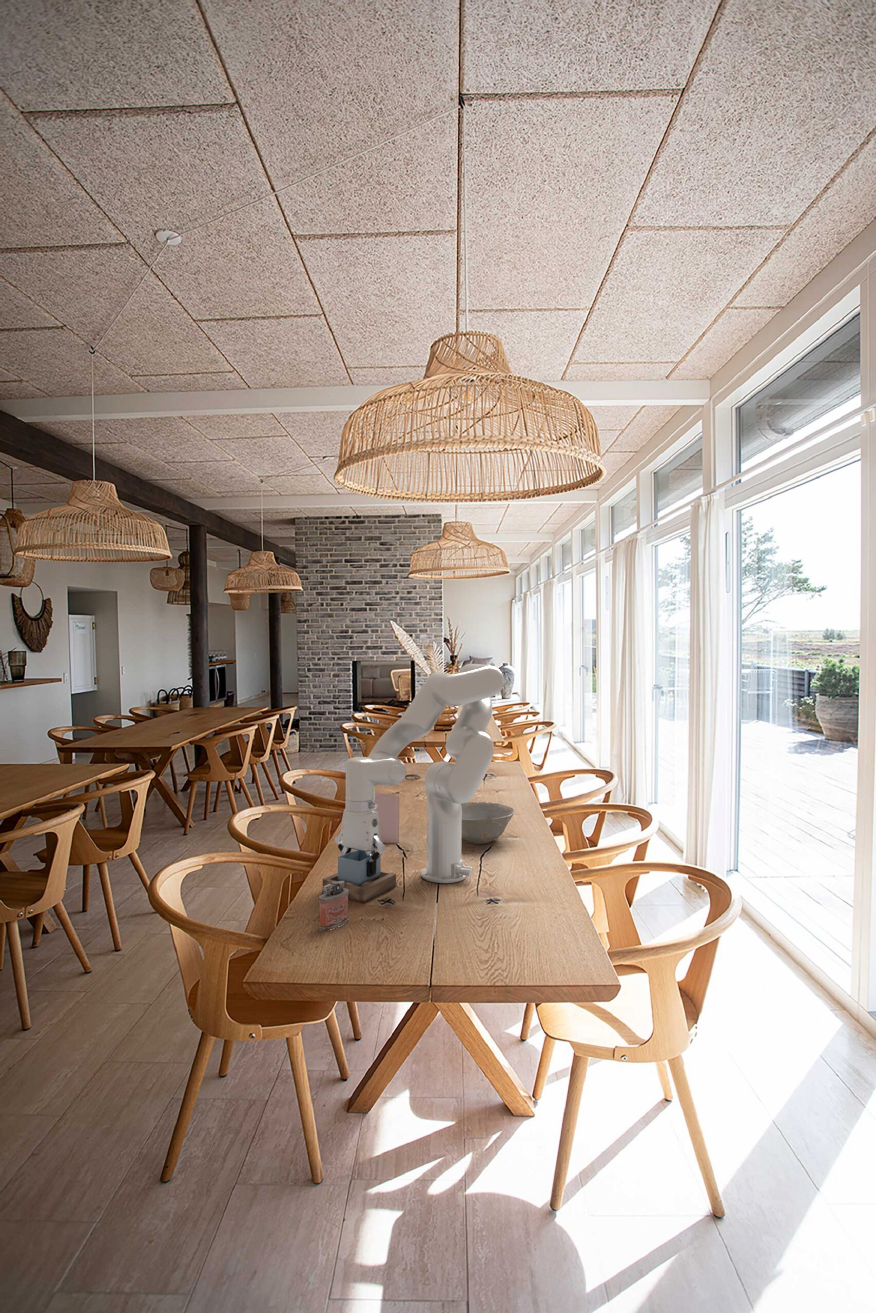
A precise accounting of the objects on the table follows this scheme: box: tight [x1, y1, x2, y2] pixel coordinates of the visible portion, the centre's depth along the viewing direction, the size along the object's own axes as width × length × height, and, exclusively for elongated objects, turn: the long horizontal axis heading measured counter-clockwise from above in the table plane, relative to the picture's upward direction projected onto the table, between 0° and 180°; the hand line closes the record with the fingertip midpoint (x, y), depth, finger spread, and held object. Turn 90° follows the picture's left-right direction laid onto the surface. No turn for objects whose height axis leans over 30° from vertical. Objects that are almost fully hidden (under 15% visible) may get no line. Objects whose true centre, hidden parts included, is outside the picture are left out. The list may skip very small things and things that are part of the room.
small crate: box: [337, 849, 382, 885], centre depth 187 cm, size 7×9×6 cm
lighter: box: [318, 881, 349, 932], centre depth 164 cm, size 8×3×10 cm, turn 141°
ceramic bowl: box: [461, 801, 515, 845], centre depth 232 cm, size 22×23×10 cm
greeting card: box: [375, 791, 400, 844], centre depth 229 cm, size 11×7×15 cm, turn 56°
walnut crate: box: [322, 870, 397, 904], centre depth 187 cm, size 14×14×4 cm
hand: (359, 872), depth 187 cm, fingers closed on small crate, 7 cm apart
